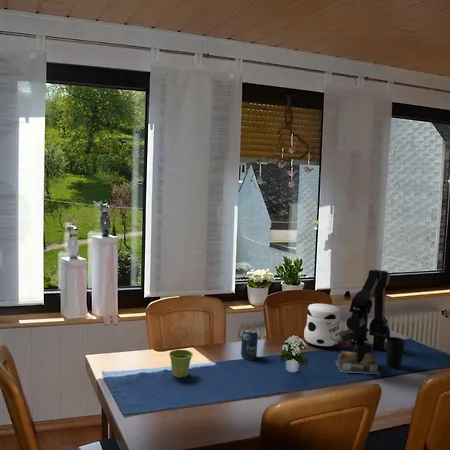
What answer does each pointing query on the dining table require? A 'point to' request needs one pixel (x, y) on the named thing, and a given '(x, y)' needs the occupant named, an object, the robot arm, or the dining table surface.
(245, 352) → the soda can
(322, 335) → the milk container
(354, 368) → the brackets
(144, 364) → the dining table surface
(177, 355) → the plant pot
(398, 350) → the cup
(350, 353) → the rail
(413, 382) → the dining table surface
